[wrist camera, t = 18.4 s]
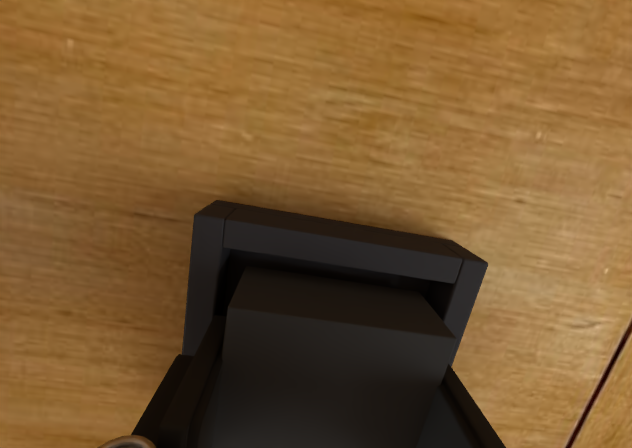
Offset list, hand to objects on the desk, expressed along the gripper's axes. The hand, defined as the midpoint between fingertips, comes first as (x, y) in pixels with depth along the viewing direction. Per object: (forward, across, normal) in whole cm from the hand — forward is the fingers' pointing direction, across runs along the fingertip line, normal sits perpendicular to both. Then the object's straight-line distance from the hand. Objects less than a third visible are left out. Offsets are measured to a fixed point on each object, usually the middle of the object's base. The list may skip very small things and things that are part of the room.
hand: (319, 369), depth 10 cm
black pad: (+1, 0, 0) cm, 1 cm away
